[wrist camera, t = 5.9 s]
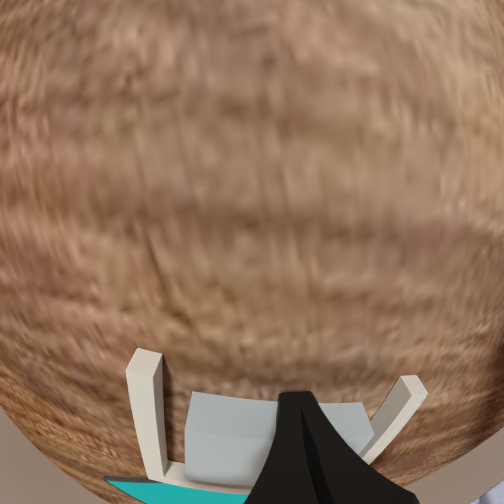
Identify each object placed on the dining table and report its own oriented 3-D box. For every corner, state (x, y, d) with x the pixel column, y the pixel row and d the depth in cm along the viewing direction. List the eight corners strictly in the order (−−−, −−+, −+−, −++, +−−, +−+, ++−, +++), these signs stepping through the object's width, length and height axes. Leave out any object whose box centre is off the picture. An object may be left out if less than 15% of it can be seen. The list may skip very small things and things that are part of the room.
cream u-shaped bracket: (416, 374, 12) (428, 393, 11) (337, 476, 16) (340, 491, 14) (137, 347, 11) (125, 370, 10) (152, 462, 15) (148, 478, 13)
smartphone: (102, 479, 17) (233, 476, 15) (104, 473, 18) (233, 466, 15) (150, 506, 19) (275, 500, 17) (151, 501, 20) (275, 493, 18)
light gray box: (358, 395, 13) (374, 434, 10) (323, 449, 15) (331, 483, 12) (194, 384, 13) (184, 429, 10) (191, 441, 15) (185, 478, 12)
